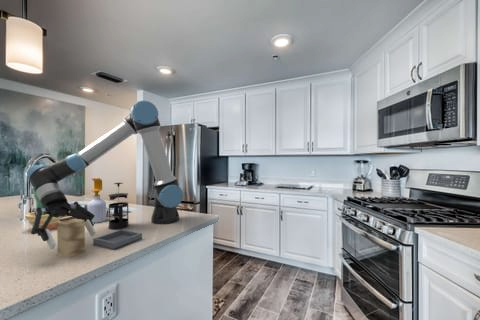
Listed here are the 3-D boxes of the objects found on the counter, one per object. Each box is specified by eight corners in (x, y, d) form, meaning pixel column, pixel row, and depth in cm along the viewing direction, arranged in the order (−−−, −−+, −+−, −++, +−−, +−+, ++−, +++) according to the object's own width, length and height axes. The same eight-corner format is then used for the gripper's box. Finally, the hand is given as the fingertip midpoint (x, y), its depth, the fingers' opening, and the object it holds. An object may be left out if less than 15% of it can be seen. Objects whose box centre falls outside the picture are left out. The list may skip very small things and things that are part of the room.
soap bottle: (84, 224, 121) (84, 179, 121) (91, 219, 130) (90, 177, 130) (103, 222, 123) (102, 178, 123) (108, 218, 132) (107, 177, 132)
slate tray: (121, 234, 103) (121, 229, 103) (142, 238, 97) (142, 233, 97) (93, 244, 91) (93, 238, 91) (114, 250, 86) (114, 243, 86)
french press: (131, 227, 114) (131, 182, 114) (110, 231, 108) (110, 184, 108) (125, 222, 123) (125, 181, 123) (106, 225, 117) (105, 182, 117)
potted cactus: (62, 222, 125) (61, 177, 125) (67, 227, 115) (66, 179, 115) (24, 228, 114) (23, 179, 114) (26, 235, 104) (25, 181, 104)
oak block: (75, 248, 87) (75, 218, 87) (84, 251, 85) (84, 220, 85) (57, 254, 82) (57, 222, 82) (67, 257, 79) (66, 224, 79)
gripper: (81, 198, 101) (103, 235, 95) (5, 209, 78) (28, 260, 72) (88, 187, 99) (111, 224, 92) (13, 195, 76) (36, 246, 70)
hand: (75, 240), depth 82 cm, fingers open, 13 cm apart
